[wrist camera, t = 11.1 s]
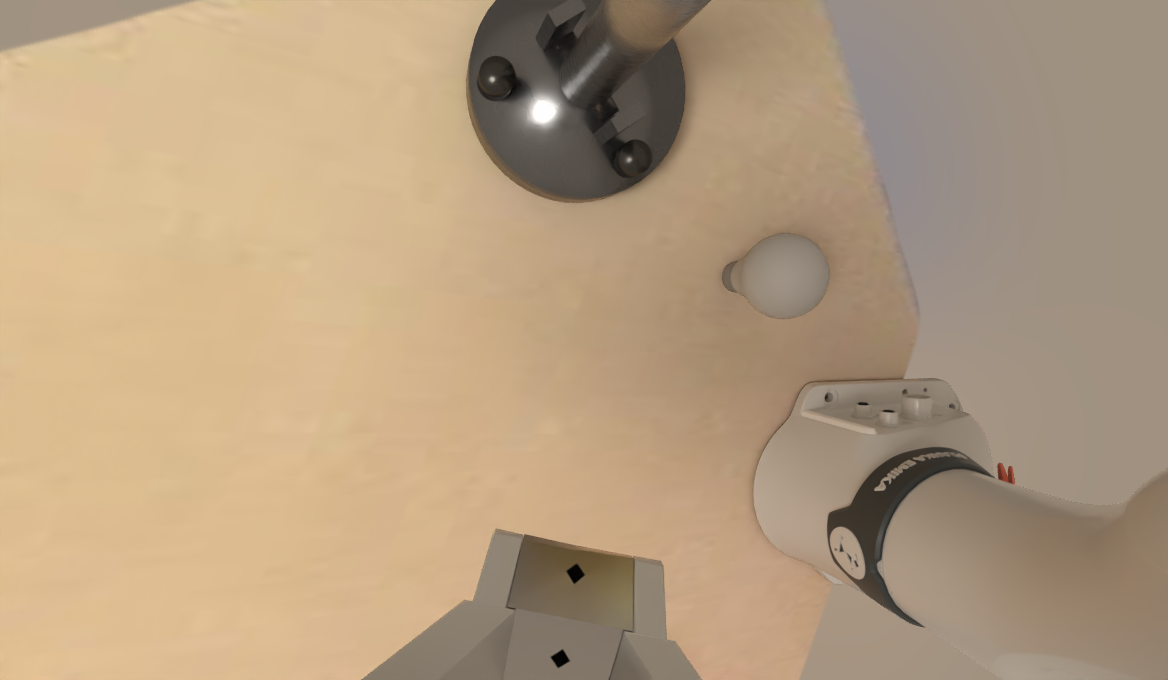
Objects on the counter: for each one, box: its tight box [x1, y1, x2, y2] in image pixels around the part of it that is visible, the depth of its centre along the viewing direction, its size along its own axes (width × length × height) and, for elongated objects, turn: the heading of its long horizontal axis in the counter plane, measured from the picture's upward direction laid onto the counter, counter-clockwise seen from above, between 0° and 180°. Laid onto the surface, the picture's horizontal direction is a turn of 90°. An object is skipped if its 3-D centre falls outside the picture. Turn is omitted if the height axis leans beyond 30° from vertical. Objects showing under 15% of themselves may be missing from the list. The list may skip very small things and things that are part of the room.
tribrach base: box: [466, 0, 685, 203], centre depth 45 cm, size 16×16×7 cm
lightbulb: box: [722, 233, 829, 319], centre depth 48 cm, size 6×6×11 cm
